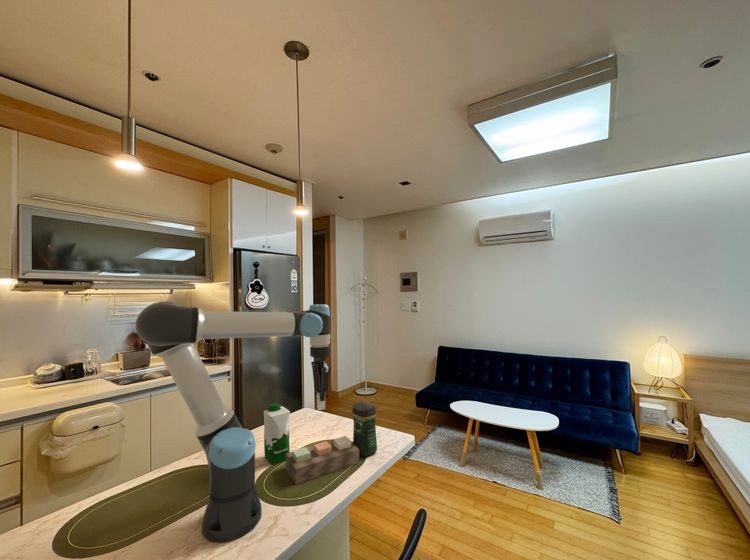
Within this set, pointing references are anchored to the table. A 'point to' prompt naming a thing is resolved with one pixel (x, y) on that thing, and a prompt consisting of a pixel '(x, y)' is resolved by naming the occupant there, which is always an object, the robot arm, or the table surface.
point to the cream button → (342, 443)
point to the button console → (321, 463)
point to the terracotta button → (322, 448)
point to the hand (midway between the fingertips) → (321, 408)
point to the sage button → (301, 455)
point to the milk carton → (276, 433)
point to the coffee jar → (364, 428)
